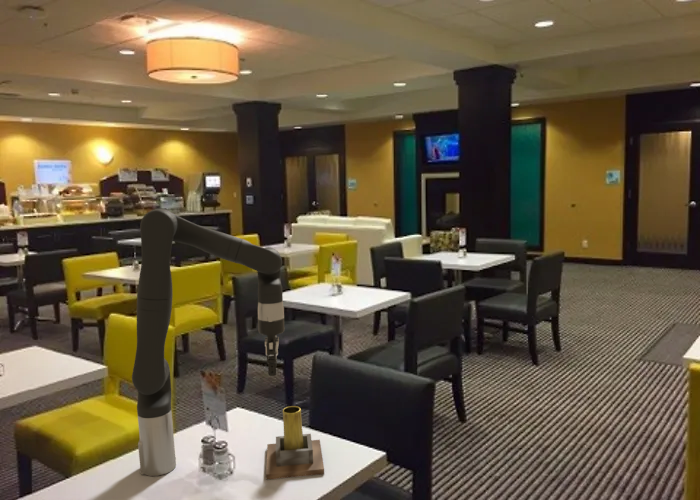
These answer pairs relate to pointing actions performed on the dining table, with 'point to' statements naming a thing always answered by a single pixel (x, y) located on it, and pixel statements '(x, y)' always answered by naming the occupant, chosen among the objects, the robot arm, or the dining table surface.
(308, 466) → the dock
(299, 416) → the vase
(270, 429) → the dining table surface
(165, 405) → the robot arm
